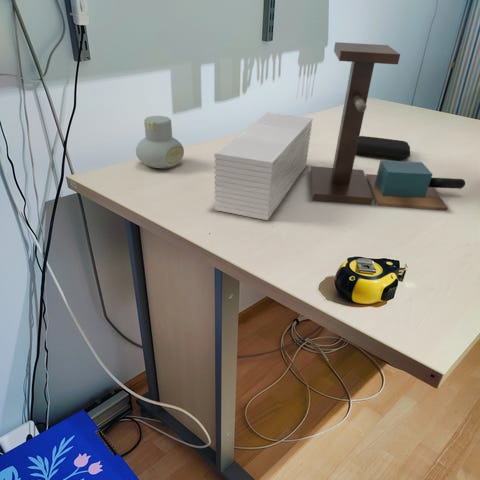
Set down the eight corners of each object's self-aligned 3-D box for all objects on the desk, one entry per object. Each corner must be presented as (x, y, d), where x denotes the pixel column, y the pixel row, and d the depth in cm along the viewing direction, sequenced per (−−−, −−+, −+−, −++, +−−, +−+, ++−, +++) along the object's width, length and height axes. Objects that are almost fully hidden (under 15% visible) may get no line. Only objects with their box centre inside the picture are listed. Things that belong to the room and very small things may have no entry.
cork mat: (426, 180, 98) (427, 178, 97) (446, 210, 85) (447, 207, 85) (365, 176, 98) (366, 174, 98) (376, 205, 86) (377, 202, 86)
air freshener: (161, 154, 104) (158, 111, 98) (189, 161, 101) (187, 117, 95) (131, 167, 97) (126, 121, 91) (160, 175, 94) (156, 128, 88)
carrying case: (408, 150, 114) (353, 143, 117) (411, 138, 113) (355, 132, 115) (408, 163, 107) (349, 155, 109) (412, 151, 105) (352, 143, 107)
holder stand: (361, 174, 99) (390, 43, 83) (372, 207, 85) (410, 57, 69) (309, 170, 100) (328, 39, 83) (312, 202, 86) (336, 53, 69)
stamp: (455, 186, 94) (463, 164, 91) (467, 199, 89) (477, 176, 85) (374, 182, 94) (380, 160, 91) (382, 195, 88) (388, 172, 85)
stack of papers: (267, 220, 79) (272, 162, 72) (214, 210, 81) (214, 153, 74) (306, 165, 102) (312, 118, 95) (264, 159, 105) (267, 112, 98)
